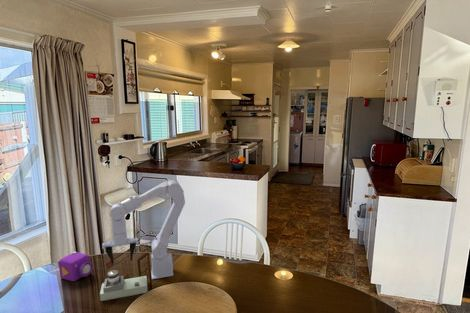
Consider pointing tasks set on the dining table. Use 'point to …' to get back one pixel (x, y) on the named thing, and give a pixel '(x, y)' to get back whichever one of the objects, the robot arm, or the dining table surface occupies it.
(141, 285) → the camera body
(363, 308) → the dining table surface
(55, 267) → the dining table surface
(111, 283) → the lens
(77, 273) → the toy camera
